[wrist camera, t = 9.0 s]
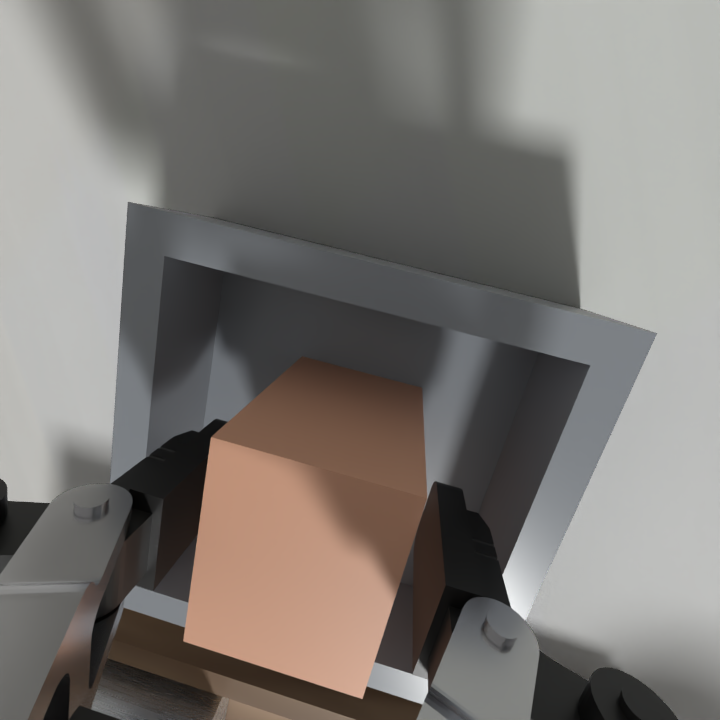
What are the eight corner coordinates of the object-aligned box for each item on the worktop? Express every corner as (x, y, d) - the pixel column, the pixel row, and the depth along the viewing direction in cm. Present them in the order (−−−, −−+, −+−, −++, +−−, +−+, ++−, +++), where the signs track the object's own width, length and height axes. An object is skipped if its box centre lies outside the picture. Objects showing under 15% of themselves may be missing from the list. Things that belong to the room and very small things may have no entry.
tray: (212, 217, 13) (128, 202, 9) (581, 308, 12) (657, 333, 8) (175, 519, 16) (102, 600, 12) (463, 607, 16) (478, 722, 12)
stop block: (302, 356, 13) (210, 436, 7) (422, 387, 13) (427, 497, 7) (276, 486, 14) (183, 641, 9) (384, 517, 14) (362, 699, 8)
